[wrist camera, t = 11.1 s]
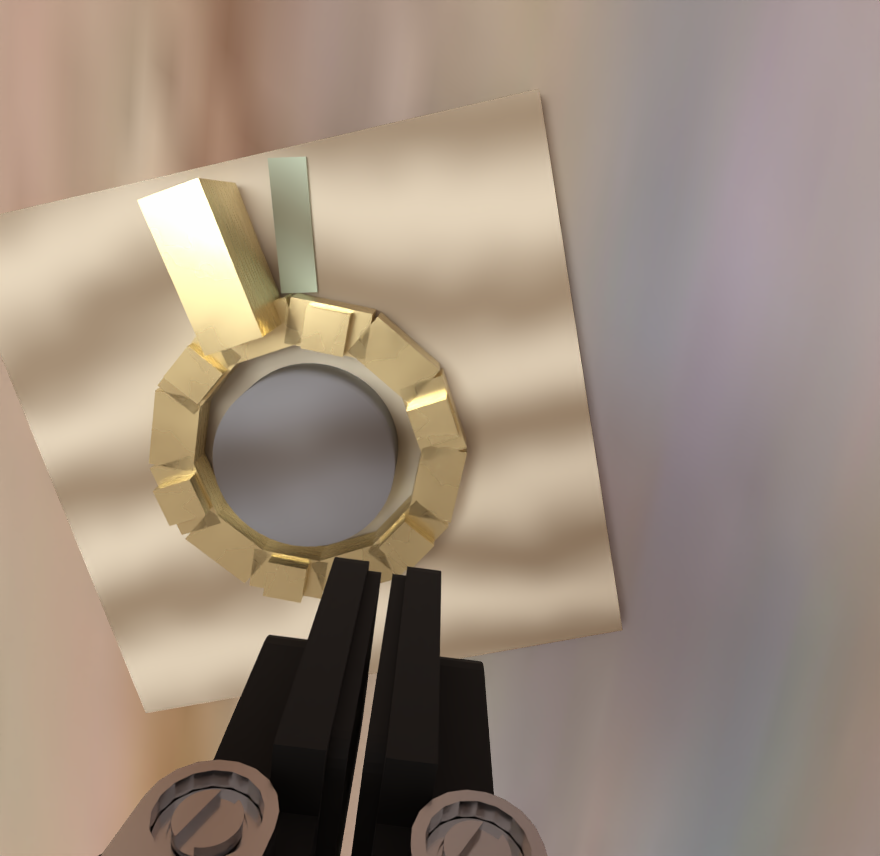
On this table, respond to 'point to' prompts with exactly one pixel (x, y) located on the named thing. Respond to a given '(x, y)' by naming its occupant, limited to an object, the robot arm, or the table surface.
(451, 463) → the ring nut
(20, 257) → the base
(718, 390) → the table surface
